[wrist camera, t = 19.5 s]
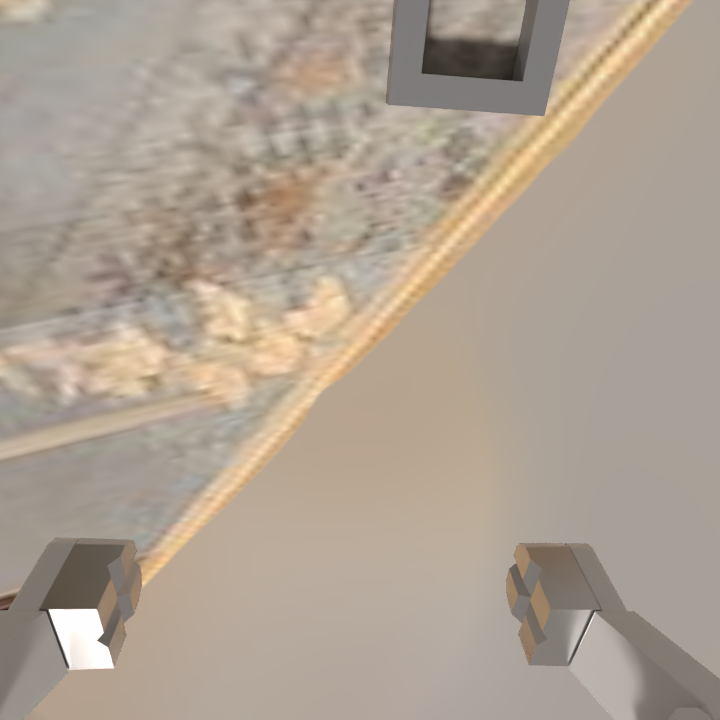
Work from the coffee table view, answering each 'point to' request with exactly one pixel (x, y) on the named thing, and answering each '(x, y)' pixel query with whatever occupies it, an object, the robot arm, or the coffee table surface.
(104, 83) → the coffee table surface
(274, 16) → the coffee table surface
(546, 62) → the holder
